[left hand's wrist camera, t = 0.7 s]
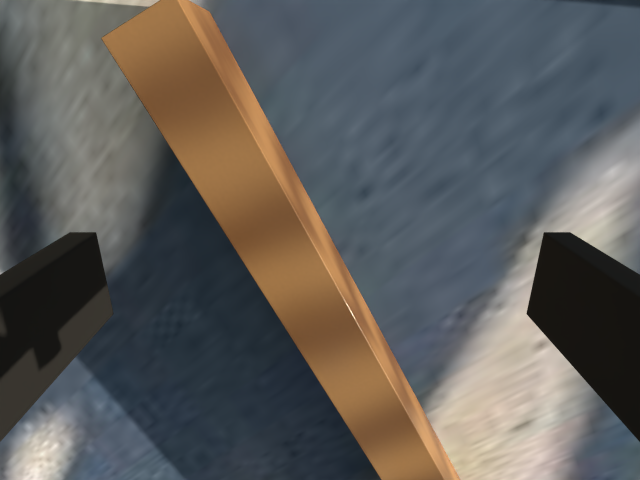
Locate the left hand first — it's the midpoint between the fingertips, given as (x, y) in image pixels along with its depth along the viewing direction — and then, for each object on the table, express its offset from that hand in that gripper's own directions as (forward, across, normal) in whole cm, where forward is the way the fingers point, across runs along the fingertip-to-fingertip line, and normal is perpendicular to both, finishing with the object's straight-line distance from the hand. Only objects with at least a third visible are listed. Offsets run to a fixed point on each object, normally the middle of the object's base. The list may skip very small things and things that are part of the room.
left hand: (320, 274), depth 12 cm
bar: (+22, +5, -21) cm, 31 cm away
